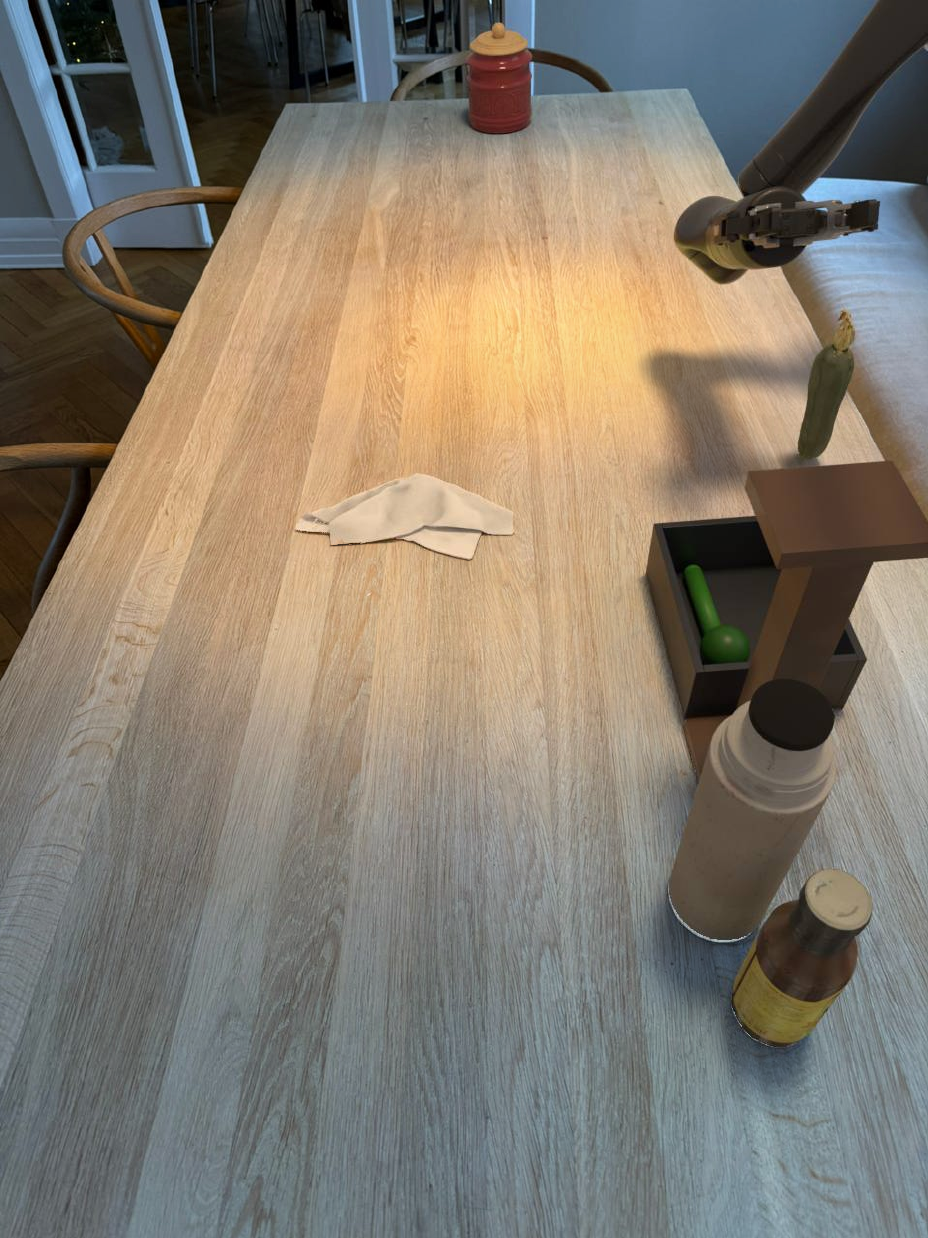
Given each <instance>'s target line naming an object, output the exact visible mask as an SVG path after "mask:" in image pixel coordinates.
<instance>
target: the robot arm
mask: <svg viewBox="0 0 928 1238" xmlns="http://www.w3.org/2000/svg"><path fill="white" fill-rule="evenodd" d="M922 49H924V50H925V51H926V52H928V0H876V1H875V3H874V5H873V6H872V8H871V9H870V11H869V12H868V14H867V15H866V16H865V18H864V19H863V21H862V22H861V23H860V25H859V26H858V28H857V29H856V31H855V32H854V33H853V34H852V35H851V37H850V39H849V40H848V41H847V43H846V44H845V46H844V47H843V49H842V50H841V51H840V53H839V54H838V55H837V57H836V58H835V60H834V61H833V62H832V64H831V65H830V67H829V68H828V69H827V71H825V73H824V74H823V76H822V77H821V79H820V80H819V82H817V84H815V86H814V88H813V89H812V90H811V92H810V93H809V94H808V95H807V97H805V99H804V100H803V102H802V103H801V104H800V105H799V107H798V108H797V109H796V110H795V112H793V114H791V116H790V117H789V118H788V119H787V120H786V121H785V122H784V124H783V125H782V126H781V127H780V128H779V129H778V130H777V131H776V132H775V133H774V134H773V136H771V138H770V139H769V140H768V141H767V142H766V143H765V144H764V145H763V146H762V147H761V149H759V151H758V152H757V153H756V154H755V156H754V157H753V158H752V159H751V160H750V161H749V162H748V163H747V165H745V166H744V168H743V169H742V170H741V171H740V173H739V175H738V177H737V186H738V189H739V191H740V193H741V196H742V198H741V199H739V200H738V201H736V200H733V199H730V198H727V197H723V196H720V195H708V196H703V197H701V198H700V199H697V200H695V201H694V202H692V203H691V204H690V205H689V206H688V207H687V208H685V209H684V210H683V211H682V213H680V216H679V217H678V218H677V220H676V223H675V226H674V229H673V242H674V244H675V247H676V248H677V250H678V251H679V252H680V253H681V255H683V256H684V257H685V258H686V259H688V260H689V262H691V263H692V264H693V265H694V266H695V267H696V268H697V269H698V270H700V271H701V272H702V273H703V274H704V275H705V276H706V277H708V278H709V279H710V280H711V281H712V282H714V283H715V284H717V285H720V286H721V285H722V286H723V285H724V286H725V285H729V284H733V283H735V282H737V281H738V280H740V279H741V278H742V277H743V276H745V275H746V273H747V272H748V271H755V270H764V269H773V268H779V267H783V266H785V265H787V264H789V263H791V262H792V261H794V260H796V259H797V258H798V257H799V256H800V255H801V254H802V253H803V251H804V250H805V249H806V247H807V246H810V245H812V244H813V243H814V242H823V241H832V240H837V239H839V238H840V236H843V237H847V236H849V235H852V234H858V233H864V232H868V233H873V232H875V231H877V230H879V218H880V207H881V201H880V200H877V199H876V198H873V199H865V200H853V202H847V203H843V201H842V200H840V199H829V200H821V201H814V200H807V199H806V197H804V196H803V195H804V194H805V193H806V191H807V190H809V188H810V187H811V186H812V185H814V183H815V182H816V181H817V180H819V178H820V177H821V176H822V175H823V174H824V173H825V172H826V171H827V170H828V169H829V168H830V166H831V165H832V164H833V162H834V161H835V160H836V159H837V157H838V156H839V154H840V153H841V152H842V150H843V148H844V147H845V145H846V143H847V142H848V141H849V139H850V137H851V135H852V134H853V131H854V130H855V128H856V126H857V125H858V123H859V121H860V119H861V118H862V116H863V115H864V112H865V111H866V110H867V108H868V106H869V105H870V104H871V102H872V101H873V99H874V98H875V97H876V95H877V94H878V92H879V91H880V90H881V89H882V87H883V86H884V85H885V84H886V83H887V82H888V80H889V79H890V78H891V77H892V76H893V75H894V74H895V73H896V72H897V71H898V70H899V69H900V68H901V67H902V66H903V65H904V64H906V62H908V61H909V60H910V59H911V58H912V57H913V56H915V54H916V53H917V54H918V52H919V51H920V50H922ZM825 208H826V210H824V209H825Z"/></svg>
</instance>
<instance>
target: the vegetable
mask: <svg viewBox="0 0 928 1238" xmlns="http://www.w3.org/2000/svg"><path fill="white" fill-rule="evenodd" d="M840 312H841V313H840V315H839V317H838V318H837V321H838V322H840V321H841V322H840V324H839V325H838V328H837V330H836V333H835V334H834V336H833V339H832V343H830V344H828V345H826V346H824V348H822V349H821V350H820V351H819V352H818V353H817V355H816V356H815V358H814V360H813V362H812V366H811V367H810V373H809V378H808V383H807V393H806V394H807V395H806V396H807V398H806V405H805V409H804V414H803V419H802V422H801V425H800V430H799V435H798V440H797V452H798V456H800V457H801V458H802V459H803V461H810V460H812V459H816V458H818V457H820V456H821V455H823V453H824V452H825V451H826V450H827V447H828V445H829V443H830V441H831V439H832V436H833V432H834V429H835V423H836V420H837V418H838V417H837V416H838V413H839V410H840V408H841V406H842V402H843V401H844V398H845V395H846V394H847V390H848V387H849V384H850V382H851V380H852V377H853V373H854V369H855V357H854V354H853V351H852V350H851V349H850V348H849V347H850V346H851V345H852V344H853V343H854V341H855V338H856V330H855V328H854V326H855V325H854V323H853V322H852V315H851V313H850V312H849V311H847V310H845V309H842V310H840Z"/></svg>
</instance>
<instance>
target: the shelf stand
mask: <svg viewBox="0 0 928 1238" xmlns="http://www.w3.org/2000/svg"><path fill="white" fill-rule="evenodd" d="M744 483H745V484H744V490H745V493H746V495H747V498H748V500H749V502H750V505H751V508H752V510H753V513H754V516H756V518H757V520H758V523H759V525H760V528H761V531H762V533H763V536H764V538H765V541H766V543H767V546H768V548H769V551H770V553H771V556H772V558H773V561H774V563H775V566H776V568H777V569H782V570H781V573H780V576H779V579H778V582H777V585H776V588H775V591H774V595H773V598H772V601H771V604H770V607H769V610H768V613H767V616H766V619H765V622H764V625H763V628H762V631H761V634H760V637H759V640H758V643H757V646H756V649H755V652H754V656H753V659H752V662H751V665H750V668H749V671H748V674H747V677H746V680H745V683H744V686H743V689H742V692H741V695H740V698H739V701H738V704H737V707H736V710H737V709H738V708H739V707H740V706H741V705H743V704H745V703H746V702H748V701H751V698H752V696H753V694H754V692H755V691H756V690H757V689H758V688H759V687H760V686H761V685H762V684H764V683H766V682H768V681H771V680H775V679H794V680H798V681H802V682H805V683H807V684H809V685H811V686H813V687H814V688H816V689H817V690H818V688H819V685H820V683H821V681H822V679H823V676H824V674H825V672H826V669H827V667H828V665H829V663H830V660H831V658H832V656H833V654H834V651H835V649H836V647H837V644H838V642H839V640H840V638H841V635H842V633H843V631H844V628H845V626H846V624H847V622H848V619H849V620H850V618H851V615H852V613H853V610H854V608H855V606H856V603H857V601H858V599H859V597H860V594H861V592H862V589H863V587H864V585H865V583H866V581H867V578H868V576H869V573H870V571H871V569H872V566H873V565H874V563H881V562H893V561H894V562H895V561H907V560H918V559H919V560H921V559H928V519H927V517H926V516H925V514H924V513H923V511H922V509H921V507H920V505H919V503H918V502H917V500H916V498H915V497H914V495H913V493H912V492H911V490H910V489H909V486H908V485H907V483H906V481H905V480H904V478H903V476H902V474H901V472H900V471H899V469H898V467H897V466H896V464H895V462H894V461H893V460H881V461H880V460H879V461H878V460H877V461H867V462H865V461H864V462H853V463H839V464H827V465H815V466H814V465H813V466H800V467H788V468H787V467H786V468H774V469H773V468H772V469H762V470H749V471H748V472H747V476H746V479H745V482H744ZM736 710H735V711H736ZM730 716H731V715H724V716H711V717H698V718H686V720H684V724H683V729H684V733H685V737H686V741H688V742H687V745H689V746H688V749H689V748H690V750H689V753H690V752H691V753H690V756H692V757H691V761H692V760H693V761H692V765H693V764H694V765H693V768H694V767H695V769H694V771H695V770H696V773H695V775H696V774H697V776H696V780H697V779H698V780H697V783H698V782H699V780H700V776H701V773H702V770H703V766H704V763H705V759H706V756H707V752H708V749H709V746H710V743H711V740H712V737H713V734H714V732H715V731H716V729H717V728H718V726H719V725H720V724H721V723H722V722H723V721H724V720H725V719H726V718H728V717H730Z"/></svg>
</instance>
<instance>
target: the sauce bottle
mask: <svg viewBox="0 0 928 1238" xmlns="http://www.w3.org/2000/svg"><path fill="white" fill-rule="evenodd" d="M873 909H874V908H873V900H872V897H871V894H870V893H869V891H868V889H867V887H866V886H865V885H863V884H862V882H860V880H859V879H858V878H857V877H856V876H854V875H853V874H851V873H848V872H846V871H843V870H840V869H837V868H824V869H820V870H817V871H815V872H814V873H813V874H811V875H810V876H809V878H808V879H807V880H806V881H805V883H804V885H803V886H802V887H801V888H800V891H799V894H798V899H795V900H789V901H787V902H784V903H782V904H780V905H778V906H776V908H774V909H773V910H772V911H771V912H770V914H769V915H768V917H767V918H766V920H765V922H764V924H762V926H761V928H760V929H759V931H758V933H757V934H756V937H755V939H754V941H753V942H752V944H751V946H750V949H749V950H748V952H747V955H746V957H745V958H744V960H743V962H742V964H741V966H740V968H739V970H738V972H737V974H736V976H735V978H734V982H733V988H732V990H733V991H732V990H731V995H732V1000H731V999H730V1007H731V1006H732V1008H733V1011H734V1012H735V1015H736V1018H737V1020H738V1021H739V1023H740V1024H741V1025H742V1028H743V1029H744V1030H745V1031H746V1032H747V1033H748V1034H749V1035H750V1036H751V1037H752V1038H754V1039H756V1040H758V1041H759V1042H762V1043H764V1044H767V1045H769V1046H773V1047H780V1048H788V1047H787V1046H789V1047H791V1045H792V1044H794V1043H795V1044H796V1043H798V1042H799V1041H800V1042H801V1040H803V1039H805V1038H806V1037H807V1036H808V1035H810V1034H811V1033H812V1031H814V1029H815V1028H816V1026H817V1025H818V1023H819V1022H820V1021H821V1019H822V1018H823V1016H824V1015H825V1014H826V1013H827V1011H829V1009H830V1007H831V1006H832V1005H833V1003H834V1002H835V1001H836V1000H837V998H838V997H839V996H840V995H841V993H842V992H843V990H845V988H846V987H847V986H848V984H849V983H850V981H851V980H852V978H853V976H854V974H855V971H856V968H857V963H858V955H859V950H858V943H857V939H856V937H858V936H859V935H860V934H861V933H862V932H864V930H865V929H866V927H868V925H869V924H870V923H871V920H872V916H873ZM732 1008H731V1009H732ZM742 1028H741V1029H742ZM743 1029H742V1030H743ZM752 1038H751V1039H752ZM759 1042H758V1043H759ZM764 1044H763V1045H764ZM795 1044H794V1045H795ZM769 1046H768V1047H769ZM792 1046H793V1045H792Z"/></svg>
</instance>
